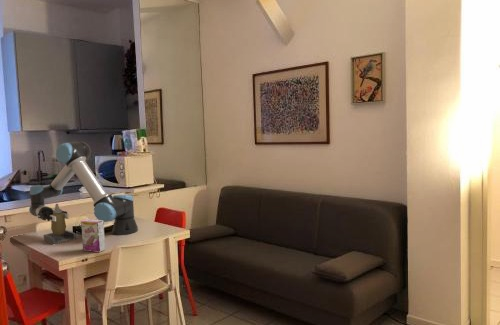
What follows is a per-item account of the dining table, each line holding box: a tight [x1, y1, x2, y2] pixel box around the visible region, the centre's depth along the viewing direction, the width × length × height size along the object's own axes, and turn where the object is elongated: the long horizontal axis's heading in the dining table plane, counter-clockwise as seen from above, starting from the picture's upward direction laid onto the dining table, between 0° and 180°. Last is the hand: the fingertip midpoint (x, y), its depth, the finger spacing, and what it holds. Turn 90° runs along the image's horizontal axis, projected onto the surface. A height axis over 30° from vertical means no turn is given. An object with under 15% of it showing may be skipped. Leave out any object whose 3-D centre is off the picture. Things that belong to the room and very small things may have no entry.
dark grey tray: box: [43, 229, 77, 245], centre depth 248 cm, size 13×13×4 cm
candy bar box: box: [80, 219, 106, 252], centre depth 225 cm, size 11×5×16 cm, turn 71°
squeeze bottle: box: [50, 203, 67, 235], centre depth 247 cm, size 8×8×18 cm
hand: (61, 217), depth 244 cm, fingers closed on squeeze bottle, 6 cm apart
